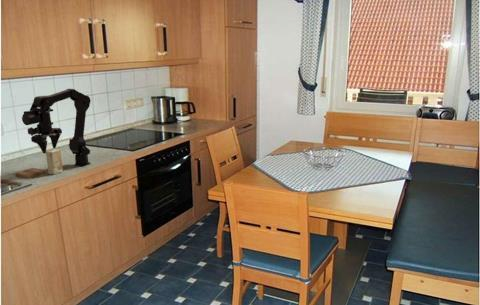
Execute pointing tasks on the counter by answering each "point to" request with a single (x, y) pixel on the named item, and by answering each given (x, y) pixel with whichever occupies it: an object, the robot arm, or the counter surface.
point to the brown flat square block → (31, 172)
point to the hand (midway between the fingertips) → (49, 150)
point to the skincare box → (54, 161)
